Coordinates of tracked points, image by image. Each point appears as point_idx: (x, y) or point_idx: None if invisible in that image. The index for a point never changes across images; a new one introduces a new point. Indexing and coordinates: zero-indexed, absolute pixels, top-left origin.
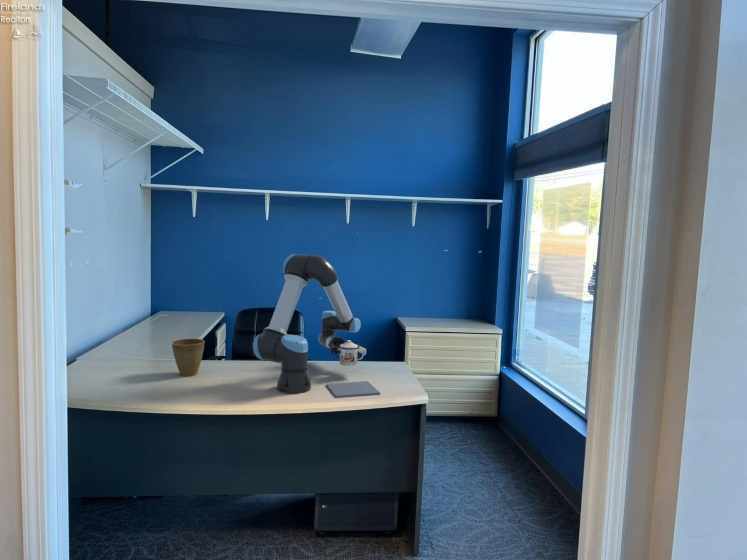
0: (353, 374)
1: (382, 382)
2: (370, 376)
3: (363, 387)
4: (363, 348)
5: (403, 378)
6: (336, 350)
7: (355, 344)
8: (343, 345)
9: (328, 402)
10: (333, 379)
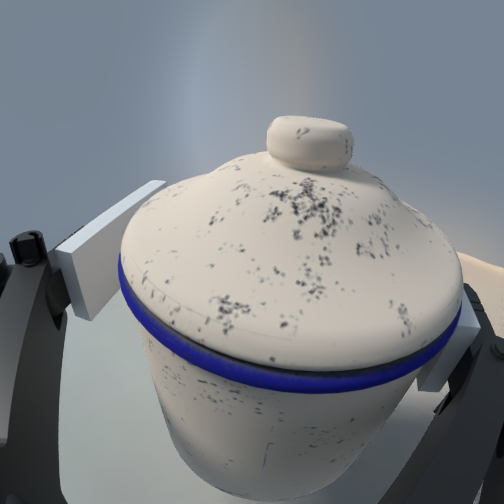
0: (183, 470)
1: None
2: (136, 366)
3: None
4: (143, 194)
5: None
6: (487, 330)
7: (167, 192)
8: (420, 218)
9: (469, 259)
10: (397, 448)
